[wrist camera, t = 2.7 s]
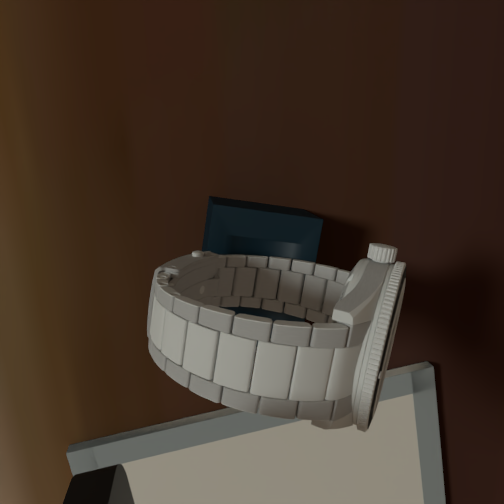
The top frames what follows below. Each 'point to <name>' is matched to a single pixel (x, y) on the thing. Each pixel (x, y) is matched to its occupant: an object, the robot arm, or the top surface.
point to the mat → (285, 454)
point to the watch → (276, 318)
